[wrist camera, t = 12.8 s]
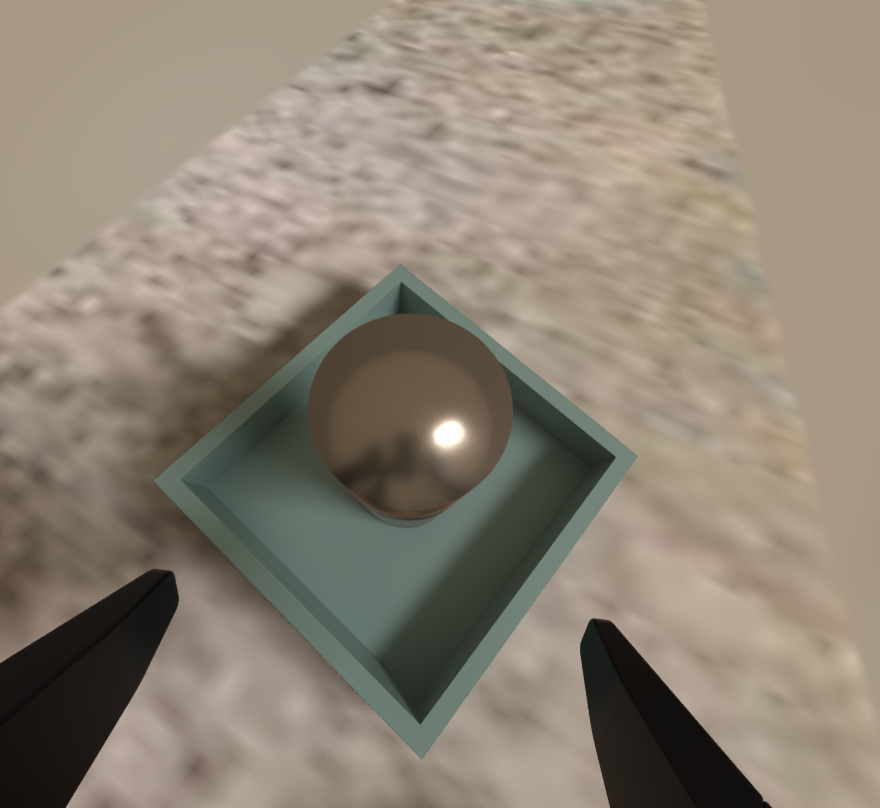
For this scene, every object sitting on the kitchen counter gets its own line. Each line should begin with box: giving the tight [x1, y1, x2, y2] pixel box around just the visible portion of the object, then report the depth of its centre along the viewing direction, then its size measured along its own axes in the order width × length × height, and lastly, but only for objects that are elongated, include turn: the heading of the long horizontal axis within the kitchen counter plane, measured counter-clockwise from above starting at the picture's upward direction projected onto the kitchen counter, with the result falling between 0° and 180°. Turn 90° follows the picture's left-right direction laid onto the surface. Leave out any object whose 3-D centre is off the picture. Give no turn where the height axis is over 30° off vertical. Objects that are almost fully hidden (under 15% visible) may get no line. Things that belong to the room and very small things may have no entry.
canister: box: [308, 313, 513, 528], centre depth 17 cm, size 5×5×13 cm
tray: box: [153, 264, 638, 759], centre depth 22 cm, size 16×16×4 cm
